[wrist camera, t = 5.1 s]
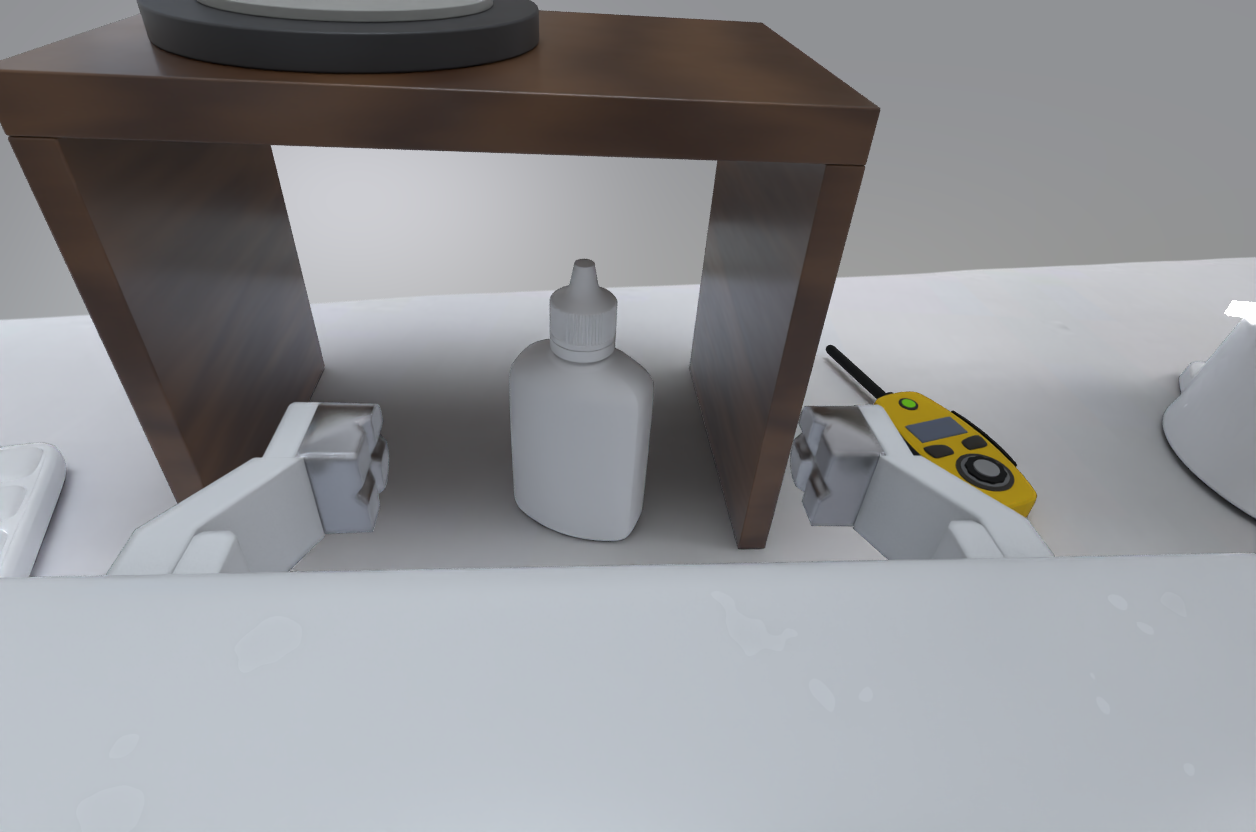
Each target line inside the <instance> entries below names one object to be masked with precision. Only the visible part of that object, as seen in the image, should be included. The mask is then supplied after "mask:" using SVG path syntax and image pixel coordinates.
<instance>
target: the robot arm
mask: <svg viewBox="0 0 1256 832" xmlns="http://www.w3.org/2000/svg"><path fill="white" fill-rule="evenodd" d="M1225 314H1227V315H1228V316H1238V317H1243V318H1242V319H1241V321H1240V322H1239V323H1238V324H1237V325H1236V327H1235V328H1234V329H1233V330H1232V331H1231V333H1230V334H1229V335H1228V336H1227V337H1226V339H1225V340H1224V341H1223V342H1222V343H1221V345H1220V346H1219V347H1218V348H1217V349H1216V351H1215V352H1214V353H1213V354H1212V355H1211V357H1210V358H1209V359H1208V360H1207V361H1206V362H1204V361H1195V362H1192V363H1190V364H1189V365H1188V367H1187V368H1186V369H1185V370H1184V371H1183V372H1182V374H1181V375H1180V377H1179V384H1180V389H1181V395H1180V396H1179V397H1178V398H1177V399H1176V400H1175V401H1174V402H1173V403H1172V404H1171V405H1169V407H1168V408H1167V409H1166V411H1165V413H1164V416H1163V429H1164V433H1165V435H1166V438H1167V440H1168V442H1169V444H1170V445H1171V447H1172V449H1173V450H1174V451H1175V453H1176V454H1177V455H1178V457H1179V458H1180V459H1181V460H1182V462H1183V463H1184V464H1185V465H1186V466H1187V467H1188V468H1189V469H1190V470H1191V471H1192V472H1193V473H1194V474H1195V475H1196V476H1197V477H1198V478H1200V479H1201V480H1202V481H1203V482H1204V483H1205V484H1207V485H1208V486H1209V487H1210V488H1211V489H1213V490H1214V491H1215V492H1217V493H1218V494H1219V495H1221V496H1222V497H1223V498H1225V499H1226V500H1227V501H1229V502H1230V503H1232V504H1233V505H1235V506H1236V507H1238V508H1239V509H1241V510H1242V511H1244V512H1245V513H1247V514H1249V515H1250V516H1252V517H1254V518H1255V519H1256V303H1253V302H1242V301H1232V302H1231V304H1230V305H1229V307H1228V309H1227V310H1226V312H1225ZM798 423H799V426H800V428H801V430H802V433H801V434H800V435H799V436H798V437H797V438H795V439H794V440H793V444H792V449H791V453H790V469H791V474H792V478H793V481H794V483H795V486H796V487H798V488H799V489H801V490H802V491H803V492H804V495H803V499H802V504H803V506H804V509H805V511H806V513H807V516H808V518H809V521H810V523H811V526H854V527H853V529H854V530H856V531H857V532H858V533H859V534H860V535H861V536H862V537H863V538H864V539H866V540H867V541H868V542H869V543H870V544H871V545H872V546H873V547H874V548H876V549H877V550H878V551H879V552H880V553H881V554H882V555H883V556H884V557H886V558H887V559H888V560H868V561H818V562H768V563H717V564H668V565H617V566H566V567H514V568H463V569H412V570H360V571H309V572H288V571H289V570H290V569H291V568H292V567H293V566H294V565H295V564H296V563H297V562H298V561H300V560H301V559H302V558H303V557H304V556H305V555H306V554H307V553H308V552H309V551H310V550H311V549H312V548H313V547H314V546H315V545H316V544H317V543H318V542H319V541H320V540H322V539H323V538H324V537H325V535H324V534H334V533H360V532H373V530H374V526H375V523H376V519H377V516H378V512H379V509H380V502H379V496H378V494H379V493H380V492H382V491H383V490H384V489H385V487H386V483H387V479H388V471H389V451H388V445H387V440H386V439H385V438H384V437H382V436H381V435H380V431H381V428H382V425H383V418H382V413H381V409H380V407H379V405H378V404H374V403H335V402H322V403H320V402H294V403H292V404H290V405H289V406H288V408H287V410H286V412H285V414H284V416H283V418H282V420H281V421H280V423H279V425H278V427H277V429H276V431H275V433H274V435H273V437H272V439H271V441H270V443H269V445H268V447H267V449H266V451H265V453H264V455H263V457H262V458H252V459H251V460H249V461H247V462H246V463H244V464H243V465H241V466H239V467H238V468H236V469H234V470H233V471H231V472H229V473H228V474H226V475H224V476H223V477H221V478H219V479H218V480H216V481H215V482H213V483H211V484H210V485H208V486H206V487H205V488H203V489H201V490H200V491H198V492H196V493H195V494H193V495H191V496H190V497H188V498H187V499H185V500H183V501H182V502H180V503H178V504H177V505H175V506H173V507H172V508H170V509H168V510H167V511H165V512H163V513H162V514H160V515H158V516H157V517H155V518H154V519H152V520H150V521H149V522H147V523H145V524H144V525H142V526H140V527H139V528H137V529H135V531H134V532H133V534H132V535H131V537H130V538H129V540H128V541H127V543H126V544H125V546H124V547H123V549H122V550H121V552H120V554H119V555H118V557H117V558H116V560H115V561H114V563H113V564H112V566H111V567H110V569H109V570H108V572H107V573H106V575H105V576H54V577H4V578H0V832H1256V553H1210V554H1165V555H1120V556H1070V557H1055V556H1054V554H1053V553H1052V552H1051V550H1050V549H1049V548H1048V546H1047V545H1046V543H1045V542H1044V541H1043V539H1042V538H1041V537H1040V535H1039V534H1038V533H1037V531H1036V530H1035V529H1034V527H1033V526H1032V524H1031V523H1030V522H1029V520H1028V519H1027V518H1025V517H1024V516H1022V515H1020V514H1019V513H1017V512H1015V511H1014V510H1012V509H1010V508H1008V507H1007V506H1005V505H1003V504H1002V503H1000V502H998V501H997V500H995V499H993V498H992V497H990V496H988V495H986V494H985V493H983V492H981V491H980V490H978V489H976V488H975V487H973V486H971V485H970V484H968V483H966V482H964V481H963V480H961V479H959V478H958V477H956V476H954V475H953V474H951V473H949V472H948V471H946V470H944V469H942V468H941V467H939V466H937V465H936V464H934V463H932V462H931V461H929V460H927V459H926V458H924V457H922V456H914V455H913V454H912V452H911V451H910V449H909V448H908V446H907V444H906V443H905V441H904V440H903V438H902V436H901V435H900V433H899V432H898V430H897V429H896V427H895V425H894V424H893V422H892V421H891V419H890V418H889V416H888V414H887V413H886V411H885V410H884V408H883V407H881V406H880V405H854V406H805V407H804V409H803V410H802V412H801V415H800V418H799V422H798Z"/></svg>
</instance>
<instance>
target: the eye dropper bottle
mask: <svg viewBox="0 0 1256 832" xmlns="http://www.w3.org/2000/svg"><path fill="white" fill-rule="evenodd" d="M616 319H617V299H616V297H615V296H614V295H613V294H612V293H611V292H610V291H608V290H607V289H605V288H602V287H599V285H598V281H597V275H596V269H595V263H594V262H593V261H592V260H589V259H579V260H576V261H575V263H574V267H573V272H572V276H571V281H570V284H569V285H568V286H565V287H562V288H560V289H558V290H556V291H555V292H554V293H553V294H552V295H551V297H550V339H545V340H541V341H537V342H535V343H533V344H531V345H529V346H528V347H527V348H525V349H524V350H523V351H522V352H521V353H520V355H519V356H518V357H517V358H516V359H515V361H514V362H513V364H512V367H511V370H510V376H509V395H510V420H511V442H512V461H513V480H514V497H515V500H516V502H517V505H518V506H519V508H520V509H521V510H522V511H523V512H525V513H526V514H527V515H528V516H530V517H531V518H532V519H534V520H535V521H537V522H539V523H540V524H542V525H544V526H546V527H548V528H550V529H552V530H555V531H557V532H560V533H563V534H566V535H569V536H573V537H578V538H583V539H589V540H599V541H617V540H621V539H624V538H626V537H627V536H628V535H629V534H630V533H631V532H632V530H633V528H634V526H635V524H636V522H637V521H638V519H639V517H640V515H641V512H642V508H643V499H644V490H645V480H646V470H647V461H648V451H649V441H650V430H651V420H652V408H653V395H654V384H653V380H652V378H651V376H650V375H649V373H648V372H647V371H646V370H645V369H644V368H643V367H642V366H641V365H640V364H639V363H637V362H636V361H635V360H633V359H632V358H631V357H629V356H628V355H626V354H625V353H623V352H622V351H620V350H618V349H617V348H615V336H616Z"/></svg>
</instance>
